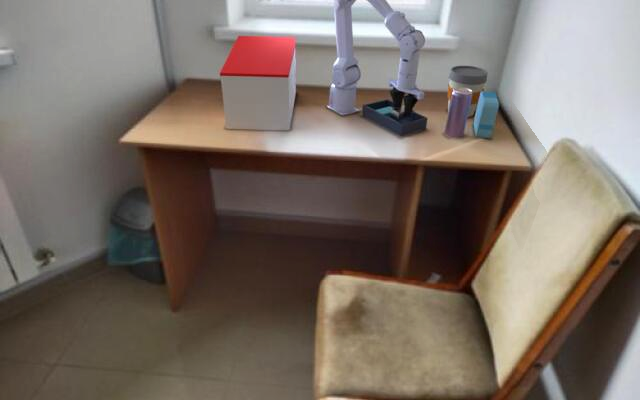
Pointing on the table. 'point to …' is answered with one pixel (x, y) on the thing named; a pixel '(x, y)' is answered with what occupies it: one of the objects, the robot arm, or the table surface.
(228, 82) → the red-topped white block
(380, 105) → the box
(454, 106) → the beverage can
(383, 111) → the block
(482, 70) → the lidded jar
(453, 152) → the table surface
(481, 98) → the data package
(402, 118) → the silver metal block
